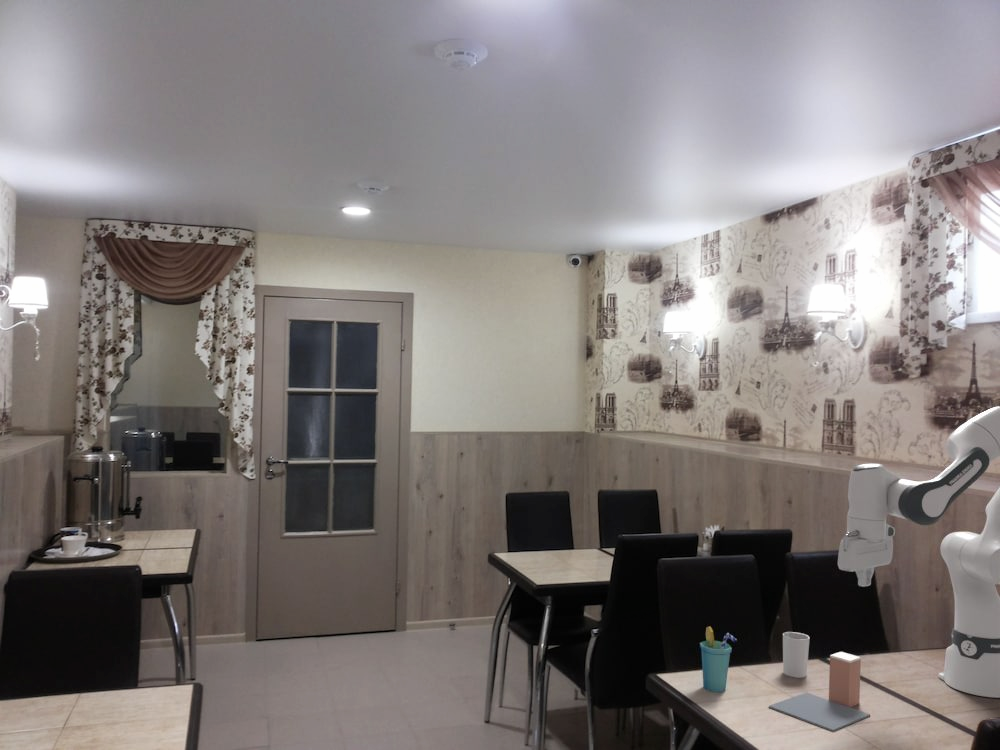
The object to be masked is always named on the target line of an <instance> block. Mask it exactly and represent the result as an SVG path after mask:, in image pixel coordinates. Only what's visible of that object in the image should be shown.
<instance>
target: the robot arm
mask: <svg viewBox="0 0 1000 750" xmlns="http://www.w3.org/2000/svg"><path fill="white" fill-rule="evenodd" d="M945 445H946V452H947V454H948V455H949V458H950V459H951V462H952V463H950V465H948V467H946V468H945V469H944V470H942V472H940V473H939V474H938V475H937V476H936V477H935V478H933V479H931V480H930V479H929V480H924V481H918V480H912V479H907V478H904V477H902V476H899V475H897V474H895V473H893V472H892V471H890V470H889V469H888V468H887V467H886V466H885V465H884V464H881V463H863V464H858V465H856V466H855V467H853V468H852V470H851V472H850V475H849V479H848V486H847V487H848V488H847V489H848V490H847V491H848V492H847V499H848V506H849V507H848V511H847V515H846V532H845V535H844V537H843V538H842V539H841V540H840V543H839V549H838V556H837V566H838V569H839V570H841V571H845V572H855V574H856V577H857V585H858V586H859V587H863V588H864V587H869V586H871V584H872V578H873V576H874V573H875V568H876V567H882V566H887V565H890V564H891V562H892V559H893V553H894V539H893V537H894V536H895V533H896V528H895V527H893V526H892V525H890V524H888V523H887V516H888V515H891V516H893V517H896V518H900V519H904V520H908V521H909V522H912V523H915V524H917V525H920V526H930V525H934V524H936V523H937V522H940V520H941V519H943V517H944V516H945V514H946V512H948V510H949V508H950V506H951V505H952V503H953V502H954V501H955V500H956V499H958V497H959V496H960V495H962V493H964V492H966V490H967V489H968V488H969V487H971V486H972V485H973V484H974V483H975V482H976V481H977V480H978V479H979V478H980V477H982V475H983V474H985V472H986V471H987V470H988V467H989V466H990V464H991V463H992V462H994V461H995V460H996V459H998V458H999V457H1000V406H999V405H998V406H994V407H991V408H989V409H987V410H985V411H982V412H981V413H979V414H977V415H974V416H973V417H971V418H970V419H968V420H967V421H966V422H964V423H963V424H961V425H960V426H958V427H957V428H956V429H955V430H953V431H952V433H950V435H949V436H948V437H947V439H946V444H945ZM985 514H986V519H985V520H986V522H985V523H984V527H983V530H982V532H981V533H980V534H979V533H977V532H972V531H953V532H950V533H949V534H947V535H946V536H945V537H944V538H943V539H942V540H941V543H940V555H941V558H942V559H943V560H944V562H945V564H946V566H947V569H948V574H949V576H950V582H951V586H952V589H953V590H952V591H953V596H954V597H953V599H954V627H952V629H951V630H952V631H951V643H952V644H951V645H949V646H948V647H946V650H945V659H944V660H945V661H944V668H943V671H942V672H938V678H939V679H940V680H942V681H944V682H945V684H946V685H948V687H951V688H953V689H955V690H958V691H960V692H963V693H965V694H966V693H967V694H970V695H975V696H978V697H979V696H980V697H987V698H997V699H999V698H1000V595H999V593H998V590H997V586H996V585H999V586H1000V486H999V487H998V489H997V490H996V492H995V493H994V494H993V496H992V497H991V499H990V501H988V503H987V505H986V507H985Z"/></svg>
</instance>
